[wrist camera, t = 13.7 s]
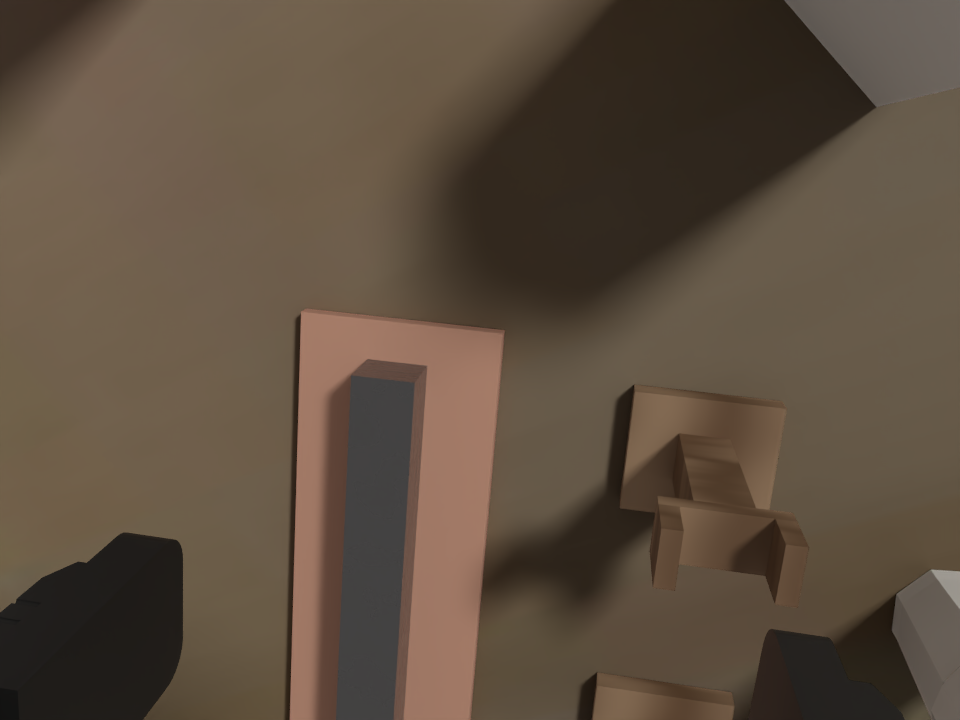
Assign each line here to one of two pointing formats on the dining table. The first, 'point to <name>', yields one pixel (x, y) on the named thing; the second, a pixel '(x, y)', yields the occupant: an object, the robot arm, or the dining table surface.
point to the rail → (379, 538)
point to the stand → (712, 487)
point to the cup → (932, 639)
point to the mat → (441, 504)
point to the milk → (889, 43)
